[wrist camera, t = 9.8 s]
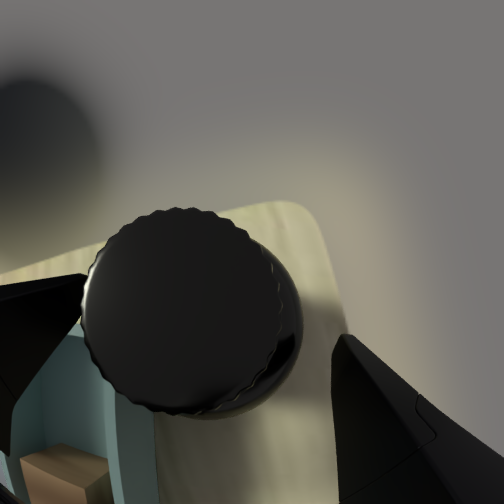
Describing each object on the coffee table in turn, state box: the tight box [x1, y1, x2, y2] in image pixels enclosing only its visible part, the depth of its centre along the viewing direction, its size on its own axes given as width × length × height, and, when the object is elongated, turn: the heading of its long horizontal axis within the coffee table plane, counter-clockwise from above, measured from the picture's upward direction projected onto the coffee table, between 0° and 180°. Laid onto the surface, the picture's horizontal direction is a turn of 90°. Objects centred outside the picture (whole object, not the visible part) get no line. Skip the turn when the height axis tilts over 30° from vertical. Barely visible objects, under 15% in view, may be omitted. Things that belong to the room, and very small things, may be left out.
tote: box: [0, 324, 160, 504], centre depth 12 cm, size 16×10×6 cm, turn 179°
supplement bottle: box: [80, 207, 303, 420], centre depth 12 cm, size 7×7×12 cm
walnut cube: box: [20, 443, 115, 504], centre depth 11 cm, size 5×5×5 cm
